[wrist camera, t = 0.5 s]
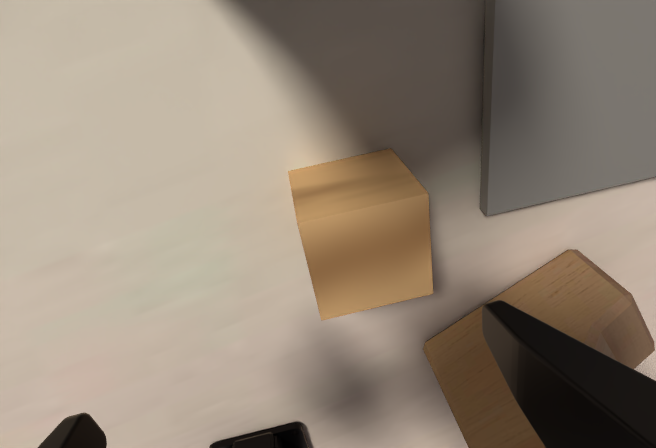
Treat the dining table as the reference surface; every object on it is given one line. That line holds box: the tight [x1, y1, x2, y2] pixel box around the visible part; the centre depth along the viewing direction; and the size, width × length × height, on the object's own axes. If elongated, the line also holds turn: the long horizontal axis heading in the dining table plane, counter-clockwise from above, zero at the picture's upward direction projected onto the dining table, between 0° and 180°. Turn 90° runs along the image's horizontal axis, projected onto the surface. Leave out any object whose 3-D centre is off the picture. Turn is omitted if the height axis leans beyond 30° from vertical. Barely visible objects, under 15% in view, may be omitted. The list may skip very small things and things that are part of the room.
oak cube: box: [288, 148, 433, 321], centre depth 19 cm, size 5×5×5 cm
